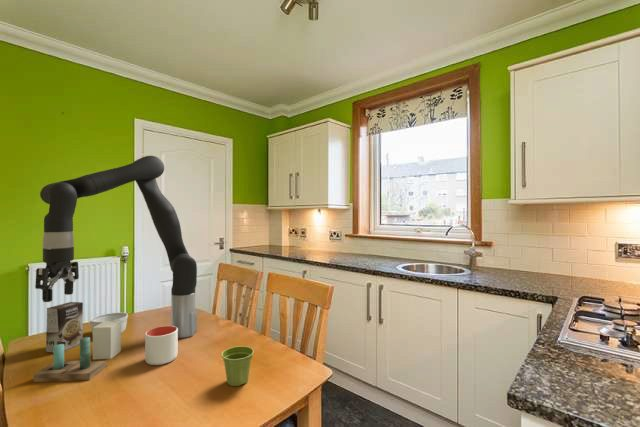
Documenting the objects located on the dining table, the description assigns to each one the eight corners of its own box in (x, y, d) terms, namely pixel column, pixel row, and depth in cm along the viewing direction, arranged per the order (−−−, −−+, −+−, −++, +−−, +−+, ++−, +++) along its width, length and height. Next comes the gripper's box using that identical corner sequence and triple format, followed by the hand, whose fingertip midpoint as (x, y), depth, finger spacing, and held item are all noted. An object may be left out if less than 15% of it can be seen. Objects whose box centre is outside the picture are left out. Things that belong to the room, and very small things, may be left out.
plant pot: (227, 373, 98) (227, 345, 98) (257, 373, 97) (257, 345, 97) (216, 389, 88) (216, 359, 88) (249, 390, 88) (249, 359, 88)
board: (106, 367, 102) (106, 333, 102) (89, 379, 94) (89, 343, 94) (80, 367, 101) (80, 334, 101) (61, 380, 93) (62, 344, 93)
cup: (184, 356, 109) (184, 328, 109) (158, 369, 100) (158, 338, 100) (164, 351, 113) (164, 324, 113) (138, 363, 104) (138, 333, 104)
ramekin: (120, 325, 140) (120, 310, 141) (133, 331, 133) (133, 315, 133) (85, 334, 130) (85, 318, 130) (97, 342, 122) (97, 324, 122)
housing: (120, 351, 113) (120, 321, 113) (110, 358, 107) (110, 327, 107) (103, 351, 113) (103, 321, 113) (92, 359, 107) (92, 327, 107)
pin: (66, 372, 98) (66, 344, 98) (59, 376, 95) (59, 347, 96) (58, 372, 98) (58, 343, 98) (50, 376, 96) (51, 347, 96)
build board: (80, 367, 101) (80, 360, 101) (61, 380, 93) (61, 372, 93) (54, 368, 100) (54, 361, 100) (33, 381, 92) (33, 373, 92)
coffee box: (59, 353, 112) (59, 308, 112) (45, 352, 113) (45, 307, 113) (83, 343, 121) (83, 302, 121) (70, 342, 122) (70, 301, 122)
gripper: (63, 244, 104) (63, 292, 104) (26, 248, 90) (25, 304, 90) (86, 244, 104) (86, 292, 104) (53, 248, 90) (53, 304, 90)
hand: (58, 297), depth 97 cm, fingers open, 8 cm apart
